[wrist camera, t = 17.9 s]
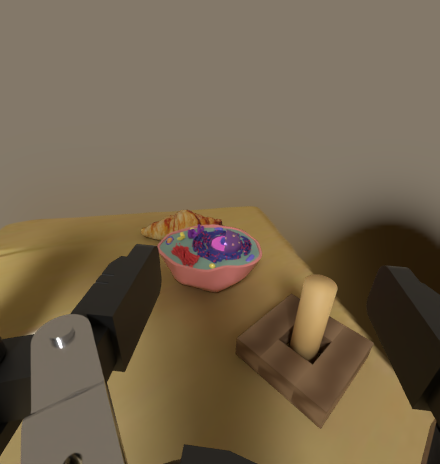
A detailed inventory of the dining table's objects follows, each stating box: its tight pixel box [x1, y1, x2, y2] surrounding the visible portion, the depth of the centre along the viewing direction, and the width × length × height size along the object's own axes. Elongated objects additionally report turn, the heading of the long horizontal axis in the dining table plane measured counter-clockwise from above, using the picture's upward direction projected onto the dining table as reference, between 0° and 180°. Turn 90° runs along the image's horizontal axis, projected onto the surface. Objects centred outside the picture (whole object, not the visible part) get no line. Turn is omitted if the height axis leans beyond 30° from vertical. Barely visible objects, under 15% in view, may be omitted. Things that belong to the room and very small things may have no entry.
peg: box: [289, 275, 337, 365], centre depth 38 cm, size 4×4×14 cm
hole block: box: [236, 294, 374, 429], centre depth 41 cm, size 14×14×4 cm
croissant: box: [141, 210, 222, 240], centre depth 72 cm, size 21×10×8 cm, turn 106°
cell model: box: [157, 224, 262, 292], centre depth 54 cm, size 17×20×11 cm
